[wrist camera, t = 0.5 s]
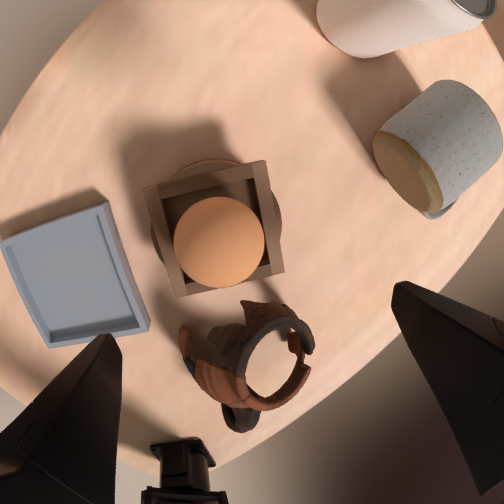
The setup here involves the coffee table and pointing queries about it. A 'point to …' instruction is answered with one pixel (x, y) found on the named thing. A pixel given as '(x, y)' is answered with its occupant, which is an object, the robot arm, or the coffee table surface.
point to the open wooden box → (207, 186)
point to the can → (396, 22)
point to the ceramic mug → (438, 146)
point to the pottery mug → (236, 358)
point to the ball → (219, 242)
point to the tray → (76, 278)
